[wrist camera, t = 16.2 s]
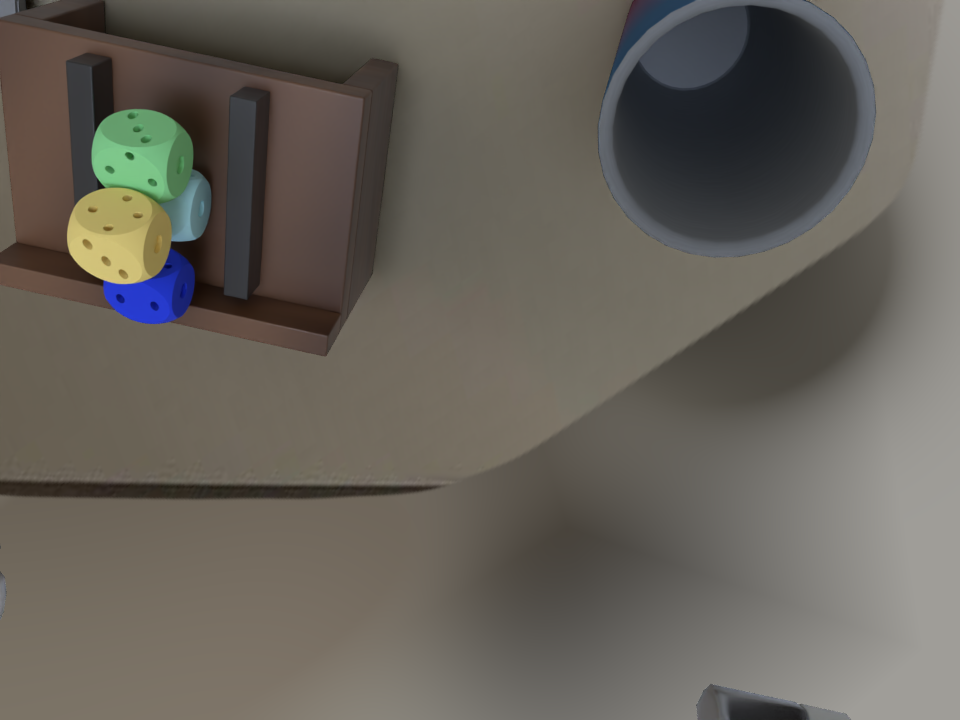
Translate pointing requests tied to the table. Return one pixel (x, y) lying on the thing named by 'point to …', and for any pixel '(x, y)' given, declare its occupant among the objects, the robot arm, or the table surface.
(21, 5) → the half round rod
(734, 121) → the cup
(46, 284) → the laptop stand
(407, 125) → the table surface
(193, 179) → the dice
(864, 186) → the table surface
